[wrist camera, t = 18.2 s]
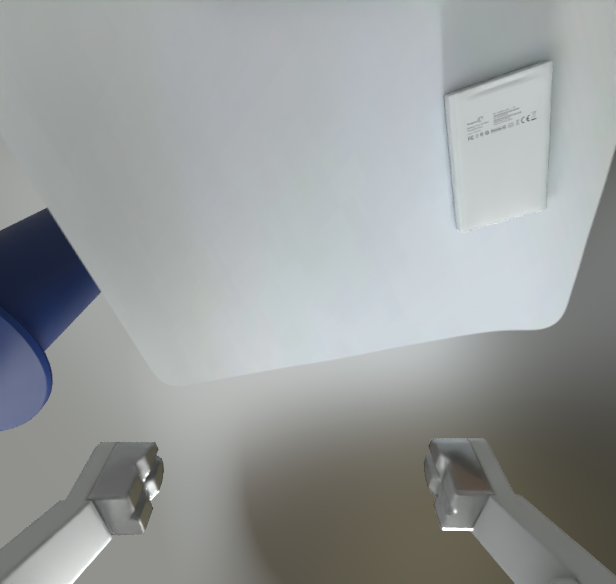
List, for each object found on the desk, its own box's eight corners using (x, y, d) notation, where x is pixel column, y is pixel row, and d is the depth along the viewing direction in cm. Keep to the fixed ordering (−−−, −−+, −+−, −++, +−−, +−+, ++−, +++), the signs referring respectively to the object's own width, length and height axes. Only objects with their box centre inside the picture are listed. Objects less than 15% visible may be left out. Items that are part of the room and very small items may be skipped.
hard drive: (454, 227, 35) (442, 94, 29) (538, 204, 34) (544, 60, 28) (460, 233, 34) (449, 95, 28) (548, 209, 33) (556, 59, 27)
